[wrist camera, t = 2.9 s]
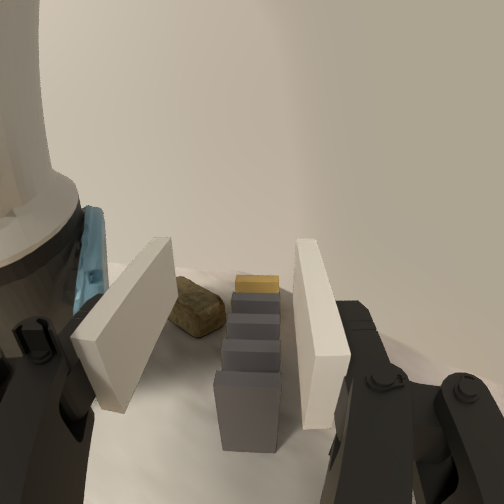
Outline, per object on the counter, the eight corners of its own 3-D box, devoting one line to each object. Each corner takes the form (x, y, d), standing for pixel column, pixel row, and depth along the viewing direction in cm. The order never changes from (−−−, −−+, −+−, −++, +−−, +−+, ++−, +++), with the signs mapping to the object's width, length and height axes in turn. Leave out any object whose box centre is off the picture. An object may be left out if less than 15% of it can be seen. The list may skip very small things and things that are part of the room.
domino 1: (276, 348, 40) (278, 282, 36) (237, 347, 41) (235, 281, 37) (276, 341, 42) (278, 275, 38) (239, 340, 42) (236, 274, 38)
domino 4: (275, 421, 29) (280, 352, 25) (227, 419, 30) (220, 350, 26) (276, 410, 31) (280, 340, 27) (229, 408, 31) (222, 338, 27)
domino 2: (276, 369, 37) (279, 301, 33) (235, 368, 37) (231, 300, 33) (276, 361, 38) (279, 293, 34) (236, 359, 38) (232, 292, 34)
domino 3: (276, 393, 33) (280, 324, 29) (231, 392, 33) (226, 322, 29) (276, 383, 35) (279, 314, 31) (232, 382, 35) (228, 313, 31)
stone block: (199, 344, 42) (195, 314, 40) (153, 311, 49) (148, 284, 47) (229, 325, 45) (227, 296, 43) (181, 298, 53) (177, 271, 51)
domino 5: (275, 452, 26) (281, 387, 22) (223, 450, 26) (213, 384, 22) (275, 439, 27) (281, 372, 23) (224, 437, 27) (216, 370, 23)
